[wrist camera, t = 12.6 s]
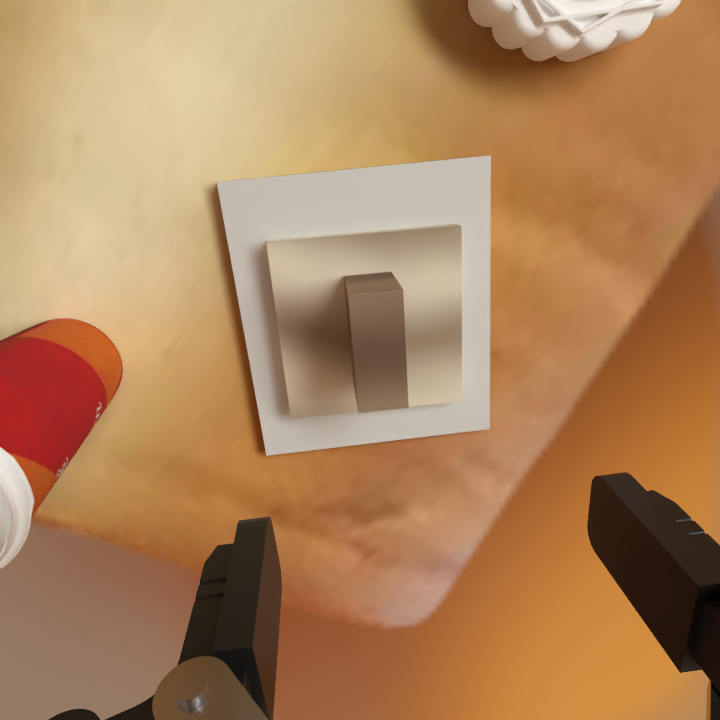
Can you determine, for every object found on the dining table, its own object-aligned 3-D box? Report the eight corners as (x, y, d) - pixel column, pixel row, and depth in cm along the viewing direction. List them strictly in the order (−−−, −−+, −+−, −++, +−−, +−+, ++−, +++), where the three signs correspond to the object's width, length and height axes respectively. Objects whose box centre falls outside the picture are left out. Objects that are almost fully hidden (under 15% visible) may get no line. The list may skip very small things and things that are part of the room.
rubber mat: (219, 181, 27) (216, 182, 26) (485, 155, 27) (490, 155, 27) (267, 449, 33) (266, 455, 32) (485, 422, 33) (489, 428, 32)
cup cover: (268, 240, 27) (258, 257, 22) (455, 223, 28) (485, 237, 23) (291, 409, 31) (287, 456, 26) (456, 392, 31) (482, 435, 26)
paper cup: (25, 430, 31) (-185, 628, 18) (-20, 306, 28) (-310, 434, 15) (158, 415, 31) (45, 599, 18) (126, 291, 28) (-35, 404, 15)
